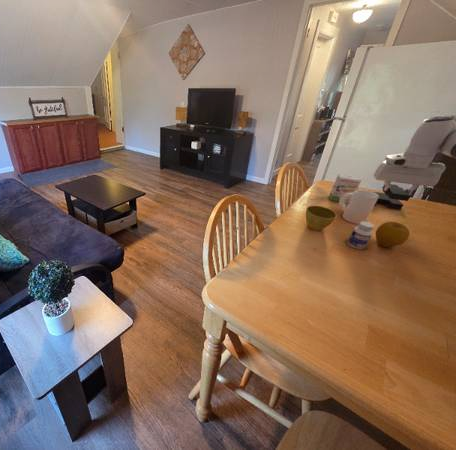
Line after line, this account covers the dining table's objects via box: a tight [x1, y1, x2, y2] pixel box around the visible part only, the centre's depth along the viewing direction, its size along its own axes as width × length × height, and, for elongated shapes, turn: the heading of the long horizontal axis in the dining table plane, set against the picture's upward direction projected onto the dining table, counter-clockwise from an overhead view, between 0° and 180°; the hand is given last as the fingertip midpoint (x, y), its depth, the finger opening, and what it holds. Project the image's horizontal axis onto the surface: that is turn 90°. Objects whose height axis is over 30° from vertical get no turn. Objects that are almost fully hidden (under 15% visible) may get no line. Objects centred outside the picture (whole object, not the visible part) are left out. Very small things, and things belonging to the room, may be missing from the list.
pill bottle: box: [347, 221, 375, 250], centre depth 86 cm, size 5×5×9 cm
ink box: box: [328, 173, 362, 204], centre depth 116 cm, size 8×5×12 cm, turn 66°
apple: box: [375, 221, 411, 248], centre depth 86 cm, size 8×8×9 cm
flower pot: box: [305, 205, 338, 231], centre depth 96 cm, size 10×10×7 cm
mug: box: [338, 188, 379, 225], centre depth 102 cm, size 8×12×12 cm
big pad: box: [373, 191, 404, 210], centre depth 118 cm, size 14×12×2 cm
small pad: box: [382, 183, 412, 202], centre depth 106 cm, size 6×12×2 cm, turn 158°
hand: (396, 192), depth 105 cm, fingers closed on small pad, 6 cm apart
